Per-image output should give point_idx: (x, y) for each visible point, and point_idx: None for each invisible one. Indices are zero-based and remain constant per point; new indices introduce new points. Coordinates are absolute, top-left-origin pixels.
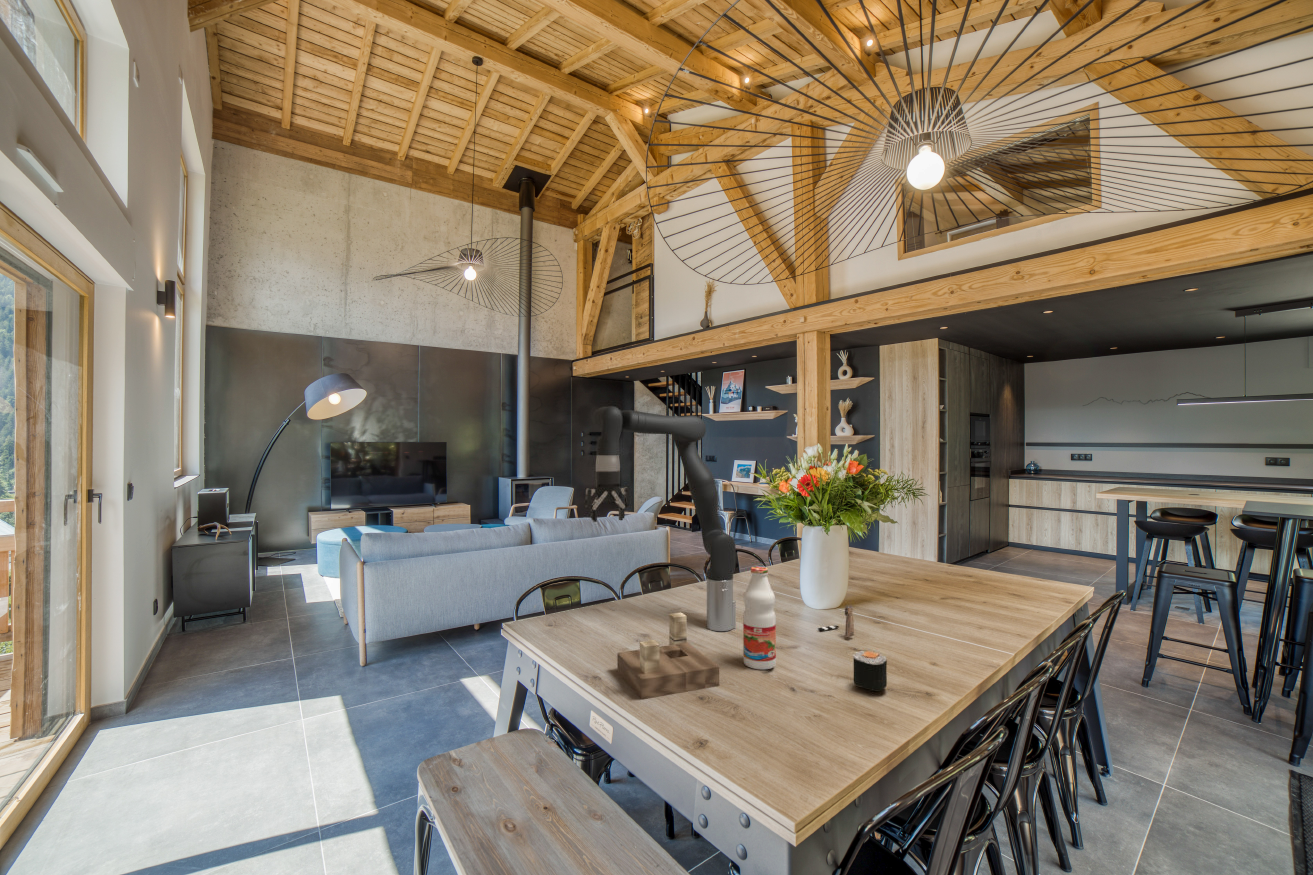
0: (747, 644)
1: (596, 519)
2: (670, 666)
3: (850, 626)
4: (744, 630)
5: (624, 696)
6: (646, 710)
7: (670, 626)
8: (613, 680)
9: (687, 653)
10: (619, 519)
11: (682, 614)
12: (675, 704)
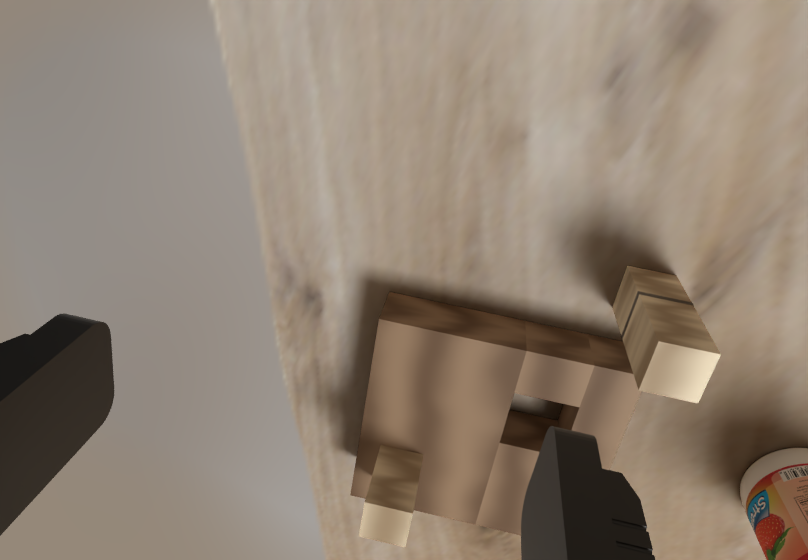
0: (763, 535)
1: (84, 434)
2: (463, 479)
3: None
4: (787, 556)
5: (331, 427)
6: (345, 498)
7: (643, 326)
8: (347, 342)
9: None
10: (541, 456)
11: (701, 378)
12: (415, 513)
